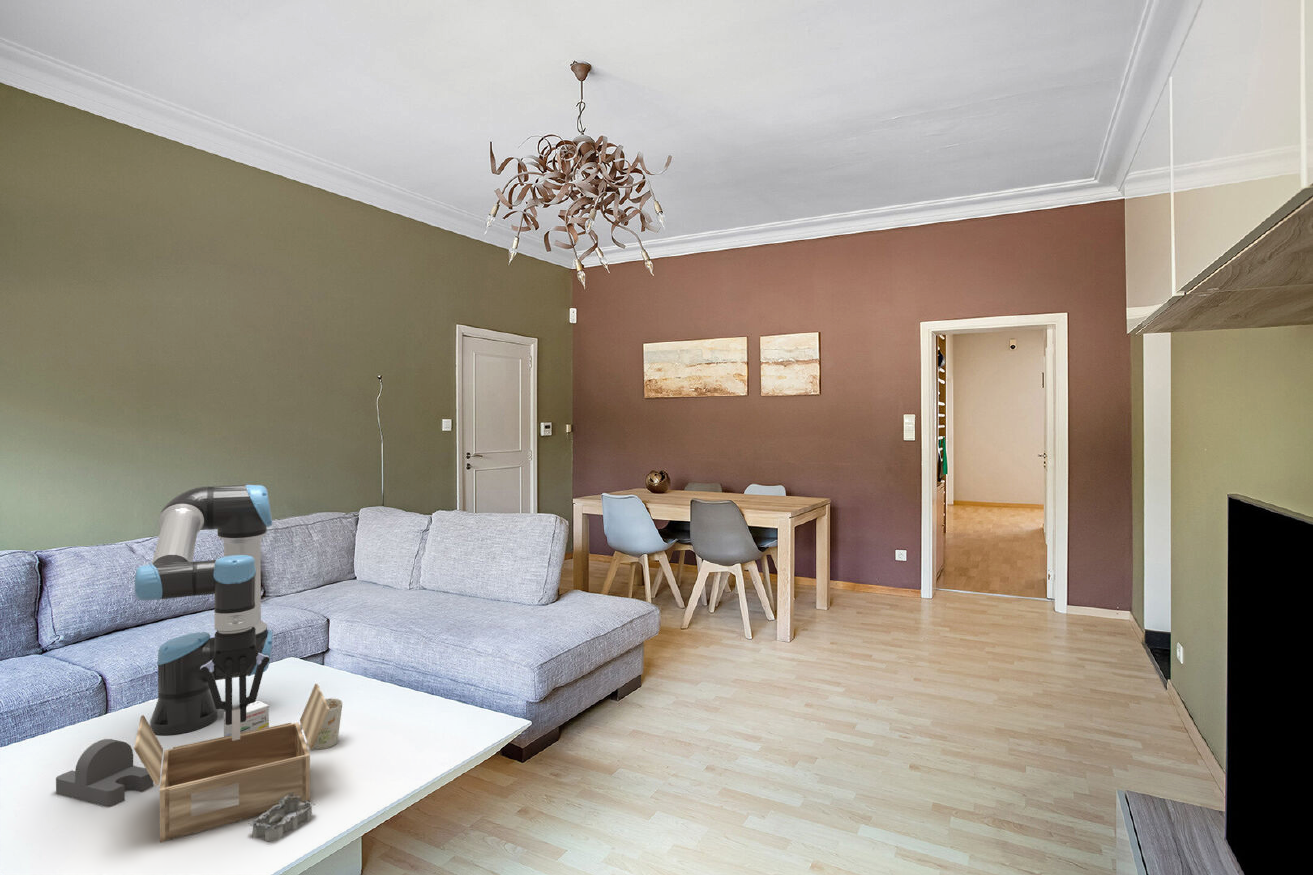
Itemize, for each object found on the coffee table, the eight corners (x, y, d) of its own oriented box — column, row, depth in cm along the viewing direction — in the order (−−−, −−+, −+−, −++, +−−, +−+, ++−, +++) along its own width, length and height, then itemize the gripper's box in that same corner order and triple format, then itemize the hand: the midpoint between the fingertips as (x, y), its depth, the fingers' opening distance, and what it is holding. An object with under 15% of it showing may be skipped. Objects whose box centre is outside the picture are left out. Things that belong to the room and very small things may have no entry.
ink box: (233, 765, 163) (233, 715, 163) (223, 759, 166) (222, 711, 165) (270, 751, 170) (269, 703, 170) (259, 746, 173) (259, 699, 173)
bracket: (109, 808, 144) (109, 757, 144) (53, 794, 150) (53, 745, 150) (155, 786, 154) (155, 738, 153) (101, 773, 159) (100, 727, 159)
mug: (349, 739, 176) (349, 700, 176) (310, 761, 165) (310, 720, 164) (324, 734, 179) (324, 696, 179) (284, 756, 167) (283, 715, 167)
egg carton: (293, 809, 144) (294, 789, 144) (319, 817, 141) (319, 797, 141) (245, 836, 135) (245, 815, 135) (271, 845, 132) (271, 824, 132)
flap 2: (315, 683, 164) (317, 683, 165) (299, 720, 162) (301, 720, 163) (327, 708, 149) (329, 708, 150) (309, 749, 147) (312, 749, 148)
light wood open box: (164, 794, 150) (164, 749, 149) (298, 762, 164) (298, 720, 164) (159, 844, 131) (159, 792, 131) (310, 803, 146) (310, 756, 146)
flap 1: (163, 748, 148) (160, 750, 148) (143, 714, 146) (140, 716, 146) (159, 784, 133) (156, 786, 133) (137, 747, 131) (134, 748, 131)
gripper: (198, 638, 141) (199, 752, 141) (271, 628, 148) (272, 736, 148) (198, 629, 147) (199, 738, 147) (268, 619, 154) (269, 723, 155)
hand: (236, 737), depth 148 cm, fingers closed
